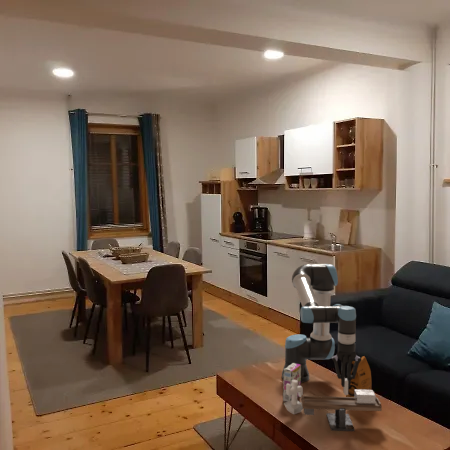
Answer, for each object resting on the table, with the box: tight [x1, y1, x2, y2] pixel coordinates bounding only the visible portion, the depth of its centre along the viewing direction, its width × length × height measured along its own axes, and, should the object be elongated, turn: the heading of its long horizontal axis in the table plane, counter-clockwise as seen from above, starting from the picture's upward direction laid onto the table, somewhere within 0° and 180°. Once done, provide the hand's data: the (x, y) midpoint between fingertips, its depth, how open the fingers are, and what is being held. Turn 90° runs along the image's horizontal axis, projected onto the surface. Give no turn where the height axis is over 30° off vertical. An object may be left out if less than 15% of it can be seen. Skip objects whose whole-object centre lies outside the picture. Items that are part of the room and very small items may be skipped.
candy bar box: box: [282, 363, 302, 403], centre depth 235 cm, size 11×5×16 cm, turn 147°
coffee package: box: [345, 355, 372, 397], centre depth 230 cm, size 10×12×22 cm
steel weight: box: [354, 389, 377, 405], centre depth 209 cm, size 6×8×5 cm
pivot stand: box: [325, 408, 356, 432], centre depth 211 cm, size 14×10×9 cm
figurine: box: [283, 380, 304, 415], centre depth 222 cm, size 7×9×15 cm
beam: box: [300, 394, 383, 416], centre depth 210 cm, size 9×34×6 cm, turn 86°
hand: (345, 393), depth 210 cm, fingers closed
